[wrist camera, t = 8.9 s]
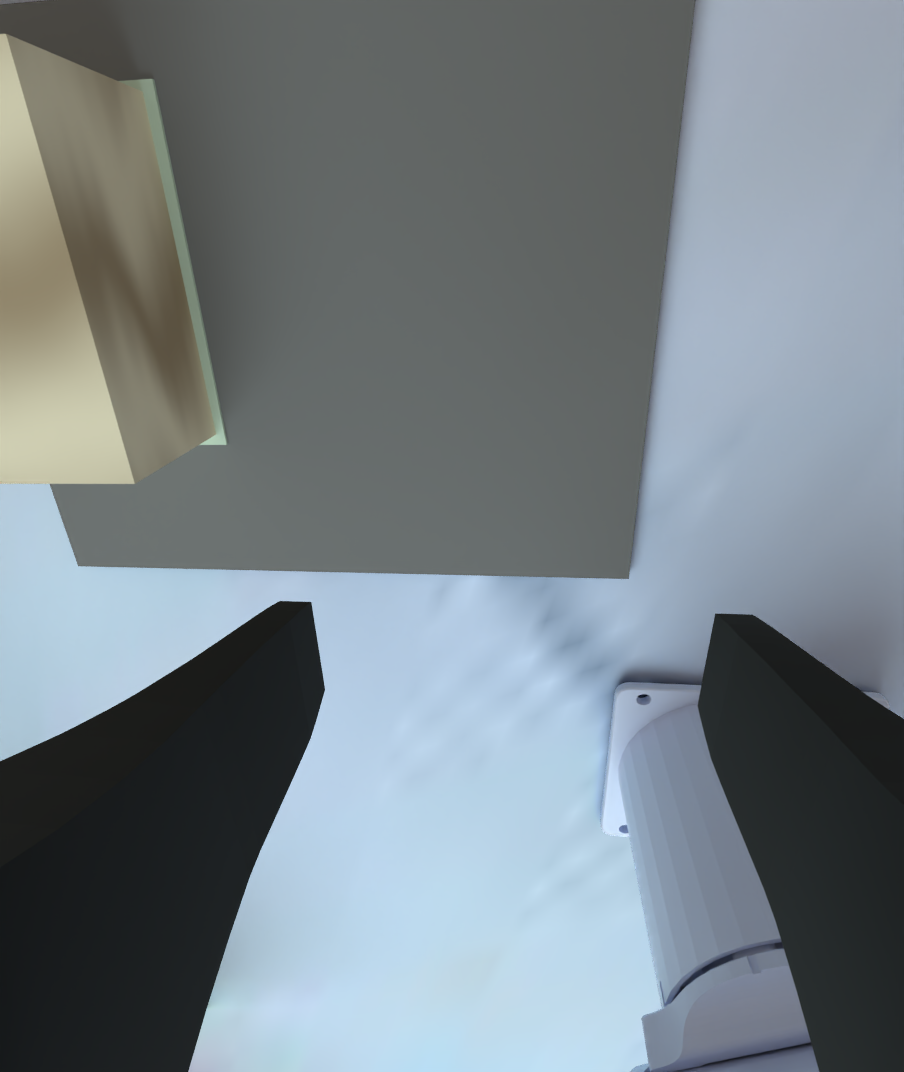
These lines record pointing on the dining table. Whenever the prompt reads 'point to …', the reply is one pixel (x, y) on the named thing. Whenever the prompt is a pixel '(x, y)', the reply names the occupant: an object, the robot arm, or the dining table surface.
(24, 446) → the maple block
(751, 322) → the dining table surface
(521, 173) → the rubber mat
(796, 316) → the dining table surface
